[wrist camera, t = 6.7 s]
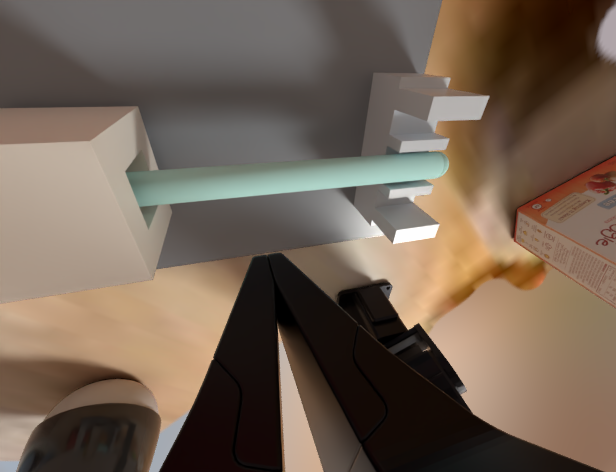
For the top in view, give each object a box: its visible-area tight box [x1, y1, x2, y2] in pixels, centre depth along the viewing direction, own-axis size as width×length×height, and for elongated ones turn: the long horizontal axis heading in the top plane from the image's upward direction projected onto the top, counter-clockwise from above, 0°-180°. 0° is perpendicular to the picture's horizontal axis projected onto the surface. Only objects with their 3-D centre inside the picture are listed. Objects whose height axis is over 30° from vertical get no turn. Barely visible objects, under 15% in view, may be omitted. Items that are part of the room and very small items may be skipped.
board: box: [0, 0, 489, 269], centre depth 14 cm, size 16×30×7 cm, turn 88°
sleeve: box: [0, 106, 172, 304], centre depth 11 cm, size 6×6×6 cm
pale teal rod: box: [125, 152, 449, 207], centre depth 13 cm, size 4×29×4 cm, turn 87°
